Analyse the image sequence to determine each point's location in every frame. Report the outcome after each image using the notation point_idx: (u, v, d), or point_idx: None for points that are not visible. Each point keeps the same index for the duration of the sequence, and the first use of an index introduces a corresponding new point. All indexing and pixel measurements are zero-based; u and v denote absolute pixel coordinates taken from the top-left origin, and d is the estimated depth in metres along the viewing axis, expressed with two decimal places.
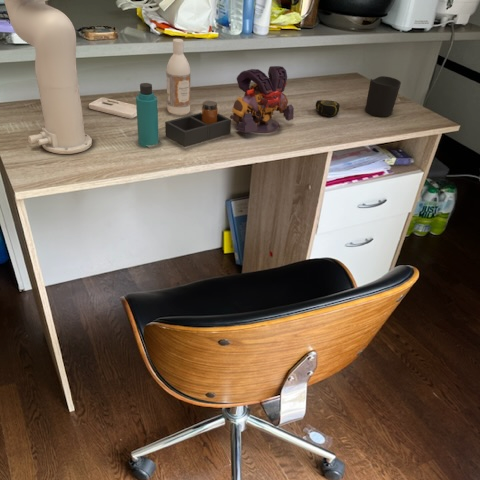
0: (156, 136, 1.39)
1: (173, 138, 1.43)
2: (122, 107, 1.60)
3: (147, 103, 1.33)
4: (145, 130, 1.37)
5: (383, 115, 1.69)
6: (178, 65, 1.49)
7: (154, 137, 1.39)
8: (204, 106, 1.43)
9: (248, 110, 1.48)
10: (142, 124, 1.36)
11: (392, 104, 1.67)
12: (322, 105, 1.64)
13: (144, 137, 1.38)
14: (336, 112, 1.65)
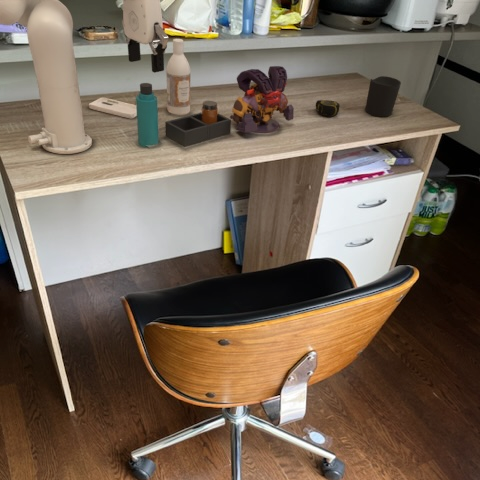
0: (156, 136, 1.39)
1: (173, 138, 1.43)
2: (122, 107, 1.60)
3: (147, 103, 1.33)
4: (145, 130, 1.37)
5: (383, 115, 1.69)
6: (178, 65, 1.49)
7: (154, 137, 1.39)
8: (204, 106, 1.43)
9: (248, 110, 1.48)
10: (142, 124, 1.36)
11: (392, 104, 1.67)
12: (322, 105, 1.64)
13: (144, 137, 1.38)
14: (336, 112, 1.65)
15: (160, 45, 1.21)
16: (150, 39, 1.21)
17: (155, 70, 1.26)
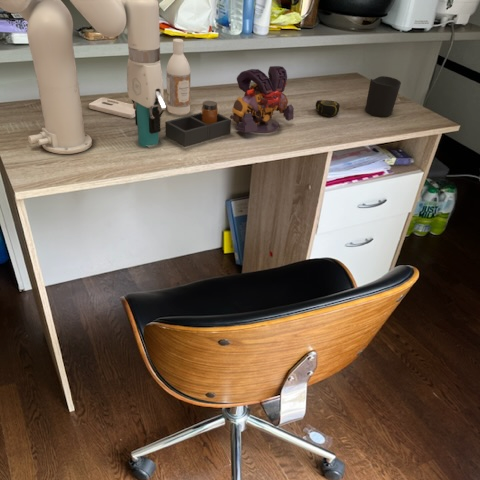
0: (156, 136, 1.39)
1: (173, 138, 1.43)
2: (122, 107, 1.60)
3: None
4: (145, 130, 1.37)
5: (383, 115, 1.69)
6: (178, 65, 1.49)
7: (154, 137, 1.39)
8: (204, 106, 1.43)
9: (248, 110, 1.48)
10: (142, 124, 1.36)
11: (392, 104, 1.67)
12: (322, 105, 1.64)
13: (144, 137, 1.38)
14: (336, 112, 1.65)
15: (157, 111, 1.32)
16: (152, 103, 1.30)
17: (152, 131, 1.37)
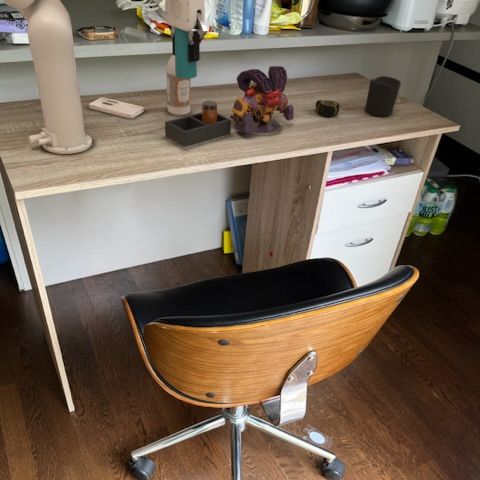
0: (194, 66, 1.31)
1: (173, 138, 1.43)
2: (122, 107, 1.60)
3: None
4: (184, 59, 1.29)
5: (383, 115, 1.69)
6: None
7: (192, 66, 1.31)
8: (204, 106, 1.43)
9: (248, 110, 1.48)
10: (180, 51, 1.28)
11: (392, 104, 1.67)
12: (322, 105, 1.64)
13: (182, 67, 1.30)
14: (336, 112, 1.65)
15: (197, 35, 1.24)
16: (192, 26, 1.22)
17: (191, 60, 1.29)
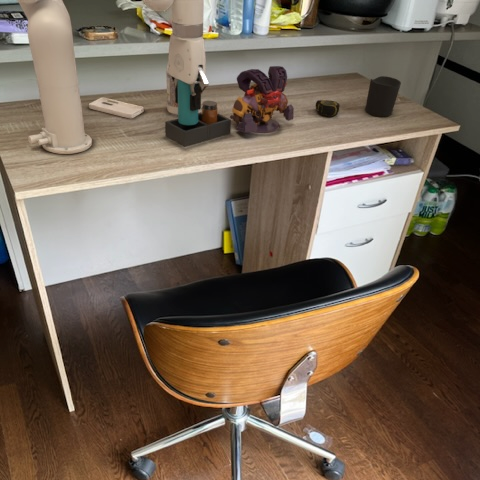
0: (196, 114, 1.39)
1: (173, 138, 1.43)
2: (122, 107, 1.60)
3: None
4: (186, 107, 1.37)
5: (383, 115, 1.69)
6: None
7: (194, 114, 1.39)
8: (204, 106, 1.43)
9: (248, 110, 1.48)
10: (183, 101, 1.36)
11: (392, 104, 1.67)
12: (322, 105, 1.64)
13: (184, 115, 1.38)
14: (336, 112, 1.65)
15: (199, 87, 1.32)
16: (194, 79, 1.30)
17: (193, 109, 1.37)
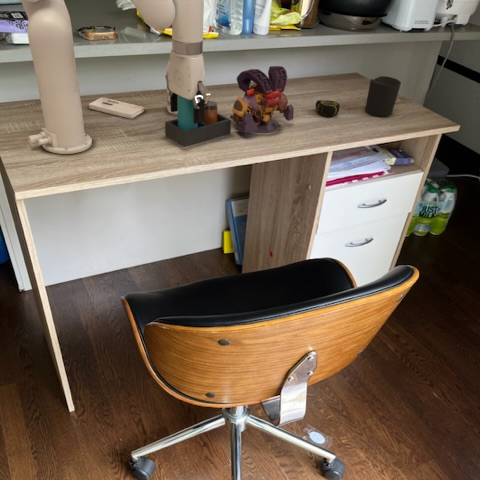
0: None
1: (173, 138, 1.43)
2: (122, 107, 1.60)
3: None
4: (186, 124, 1.40)
5: (383, 115, 1.69)
6: None
7: None
8: None
9: (248, 110, 1.48)
10: (183, 118, 1.39)
11: (392, 104, 1.67)
12: (322, 105, 1.64)
13: None
14: (336, 112, 1.65)
15: (202, 101, 1.33)
16: (193, 95, 1.33)
17: (196, 122, 1.38)
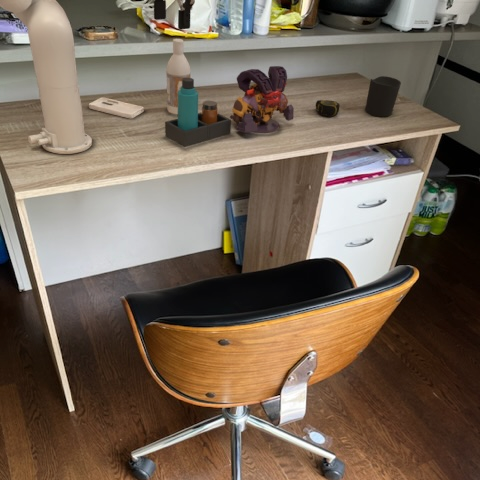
0: None
1: (173, 138, 1.43)
2: (122, 107, 1.60)
3: (189, 98, 1.35)
4: (186, 124, 1.40)
5: (383, 115, 1.69)
6: (178, 65, 1.49)
7: None
8: (204, 106, 1.43)
9: (248, 110, 1.48)
10: (183, 118, 1.39)
11: (392, 104, 1.67)
12: (322, 105, 1.64)
13: None
14: (336, 112, 1.65)
15: (188, 0, 1.19)
16: None
17: (181, 27, 1.24)
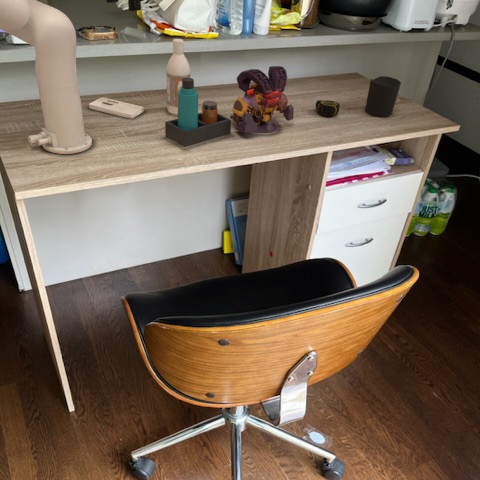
0: None
1: (173, 138, 1.43)
2: (122, 107, 1.60)
3: (189, 98, 1.35)
4: (186, 124, 1.40)
5: (383, 115, 1.69)
6: (178, 65, 1.49)
7: None
8: (204, 106, 1.43)
9: (248, 110, 1.48)
10: (183, 118, 1.39)
11: (392, 104, 1.67)
12: (322, 105, 1.64)
13: None
14: (336, 112, 1.65)
15: None
16: None
17: (132, 9, 1.25)
